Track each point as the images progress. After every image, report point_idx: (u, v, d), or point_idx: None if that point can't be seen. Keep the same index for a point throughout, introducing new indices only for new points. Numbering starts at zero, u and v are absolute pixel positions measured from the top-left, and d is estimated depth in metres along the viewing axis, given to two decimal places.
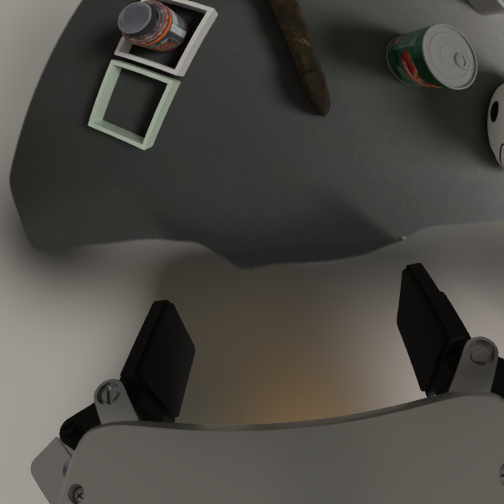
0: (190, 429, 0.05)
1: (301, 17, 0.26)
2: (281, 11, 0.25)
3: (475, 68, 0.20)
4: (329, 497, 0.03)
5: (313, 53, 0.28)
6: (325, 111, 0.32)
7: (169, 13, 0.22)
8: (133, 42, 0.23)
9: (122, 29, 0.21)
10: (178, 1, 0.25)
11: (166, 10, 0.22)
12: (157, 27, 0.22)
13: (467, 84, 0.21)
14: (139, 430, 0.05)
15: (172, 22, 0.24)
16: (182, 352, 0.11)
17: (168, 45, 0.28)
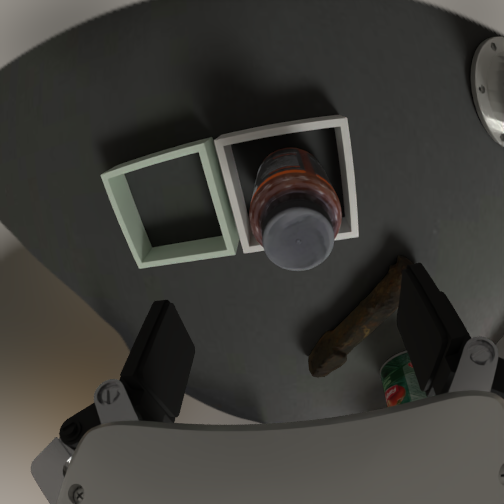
0: (190, 429, 0.05)
1: (391, 313, 0.28)
2: (388, 299, 0.27)
3: None
4: (329, 497, 0.03)
5: (359, 342, 0.31)
6: (314, 375, 0.34)
7: None
8: (253, 231, 0.18)
9: (266, 237, 0.16)
10: (349, 183, 0.22)
11: None
12: None
13: None
14: (139, 430, 0.05)
15: None
16: (182, 352, 0.11)
17: None
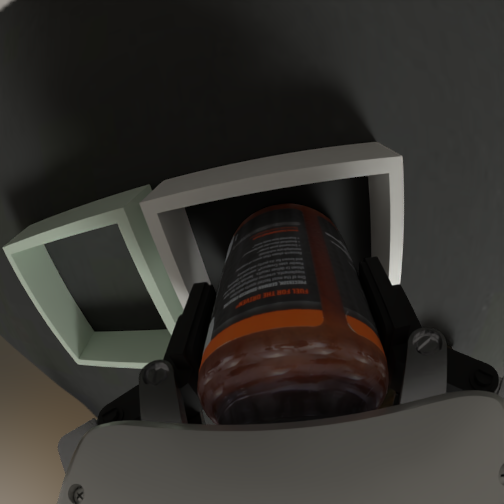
0: (190, 429, 0.05)
1: None
2: None
3: None
4: (329, 497, 0.03)
5: None
6: None
7: None
8: (208, 415, 0.08)
9: None
10: None
11: None
12: None
13: None
14: (139, 430, 0.05)
15: None
16: None
17: None
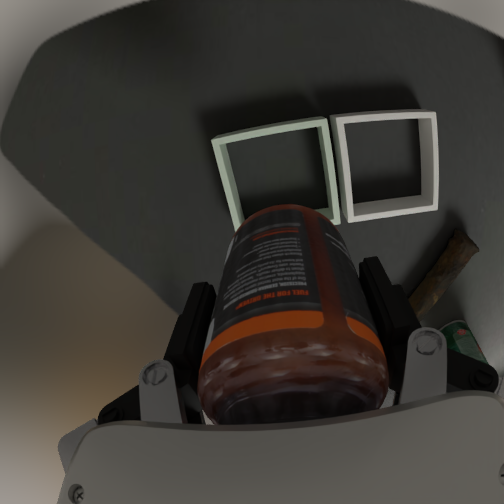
0: (190, 429, 0.05)
1: None
2: (452, 267, 0.29)
3: None
4: (329, 497, 0.03)
5: None
6: None
7: None
8: (208, 416, 0.08)
9: None
10: (434, 164, 0.23)
11: None
12: None
13: None
14: (139, 430, 0.05)
15: None
16: None
17: None
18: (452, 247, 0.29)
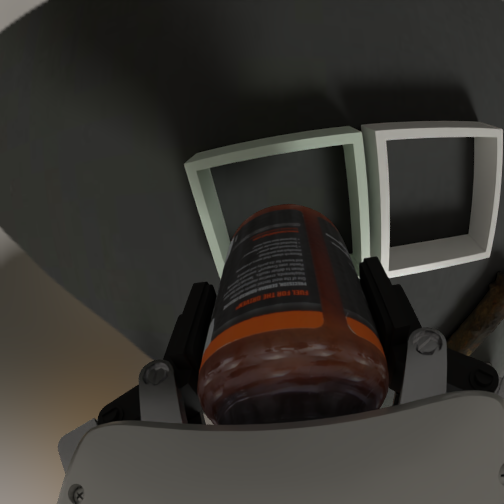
0: (190, 429, 0.05)
1: (491, 332, 0.22)
2: (492, 320, 0.20)
3: None
4: (329, 497, 0.03)
5: None
6: None
7: None
8: (208, 416, 0.08)
9: None
10: (494, 199, 0.15)
11: None
12: None
13: None
14: (139, 430, 0.05)
15: None
16: None
17: None
18: (494, 296, 0.21)
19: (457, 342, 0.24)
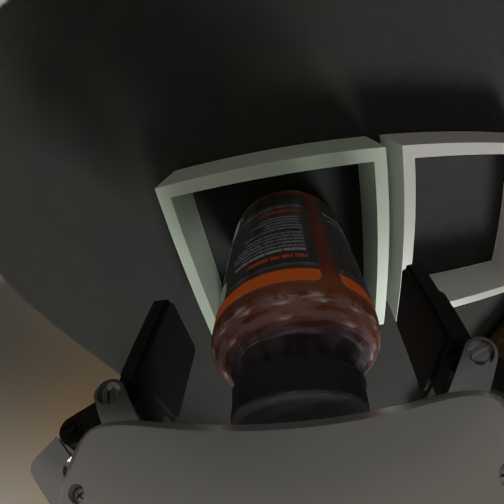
0: (190, 429, 0.05)
1: None
2: None
3: None
4: (329, 497, 0.03)
5: None
6: None
7: None
8: (220, 372, 0.10)
9: (238, 424, 0.07)
10: None
11: None
12: None
13: None
14: (139, 430, 0.05)
15: None
16: (182, 352, 0.11)
17: None
18: None
19: None
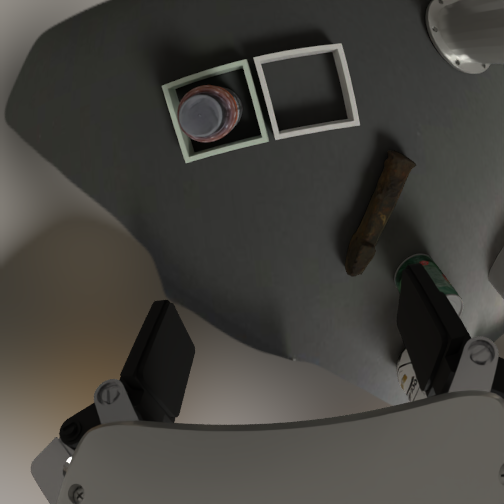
0: (190, 429, 0.05)
1: (398, 197, 0.34)
2: (390, 183, 0.33)
3: None
4: (329, 497, 0.03)
5: (381, 231, 0.37)
6: None
7: (231, 129, 0.27)
8: (179, 123, 0.26)
9: (180, 115, 0.23)
10: (347, 85, 0.28)
11: (231, 126, 0.26)
12: (208, 137, 0.26)
13: None
14: (139, 430, 0.05)
15: None
16: (182, 352, 0.11)
17: None
18: (387, 166, 0.33)
19: (370, 210, 0.36)
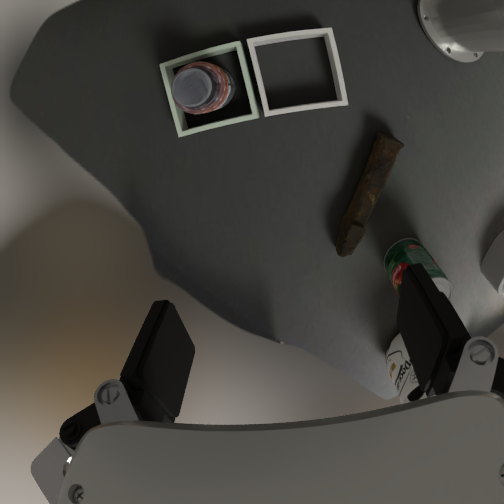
0: (190, 429, 0.05)
1: (386, 178, 0.35)
2: (378, 163, 0.34)
3: None
4: (329, 497, 0.03)
5: (370, 211, 0.37)
6: (343, 256, 0.41)
7: (221, 102, 0.27)
8: (172, 96, 0.26)
9: (173, 87, 0.23)
10: (336, 67, 0.28)
11: (221, 99, 0.26)
12: (199, 108, 0.26)
13: None
14: (139, 430, 0.05)
15: (215, 108, 0.28)
16: (182, 352, 0.11)
17: None
18: (375, 147, 0.34)
19: (359, 190, 0.37)
